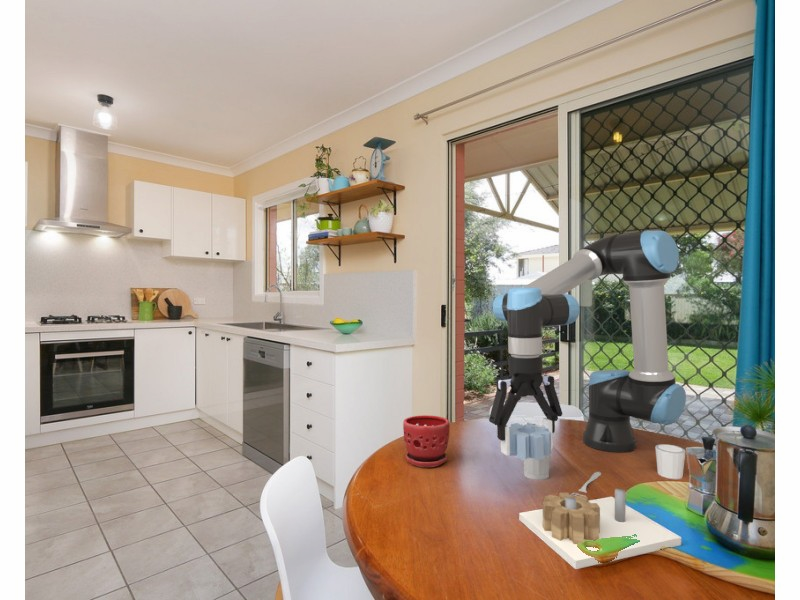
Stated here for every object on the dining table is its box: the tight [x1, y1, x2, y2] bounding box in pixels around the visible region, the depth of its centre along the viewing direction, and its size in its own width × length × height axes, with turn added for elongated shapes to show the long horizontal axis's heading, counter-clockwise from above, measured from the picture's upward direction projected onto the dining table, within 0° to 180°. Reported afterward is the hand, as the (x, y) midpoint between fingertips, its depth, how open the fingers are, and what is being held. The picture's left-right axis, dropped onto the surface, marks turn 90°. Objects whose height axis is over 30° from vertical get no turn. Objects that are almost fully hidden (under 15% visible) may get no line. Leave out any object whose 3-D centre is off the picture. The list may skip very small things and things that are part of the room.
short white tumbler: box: [655, 443, 686, 480], centre depth 120 cm, size 7×7×7 cm
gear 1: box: [509, 422, 552, 461], centre depth 106 cm, size 10×10×5 cm
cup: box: [522, 424, 551, 481], centre depth 121 cm, size 8×8×12 cm
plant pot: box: [402, 414, 450, 469], centre depth 131 cm, size 13×13×12 cm
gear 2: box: [542, 492, 600, 544], centre depth 91 cm, size 10×10×5 cm
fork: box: [569, 471, 602, 497], centre depth 115 cm, size 3×24×2 cm, turn 142°
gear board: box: [518, 488, 682, 570], centre depth 93 cm, size 24×18×8 cm
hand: (526, 450), depth 106 cm, fingers closed on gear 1, 10 cm apart
